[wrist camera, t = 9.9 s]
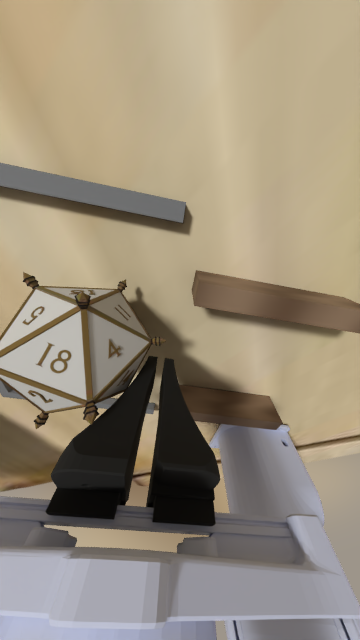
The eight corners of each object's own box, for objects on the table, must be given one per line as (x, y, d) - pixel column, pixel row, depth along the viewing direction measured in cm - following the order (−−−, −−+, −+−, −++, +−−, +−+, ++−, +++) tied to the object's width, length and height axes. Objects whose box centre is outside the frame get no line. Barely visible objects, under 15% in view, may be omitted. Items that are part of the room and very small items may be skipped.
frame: (185, 204, 10) (185, 202, 9) (154, 407, 21) (153, 414, 20) (-146, 133, 8) (-176, 125, 8) (9, 390, 19) (2, 396, 19)
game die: (150, 281, 15) (217, 351, 8) (118, 350, 17) (146, 450, 10) (20, 227, 9) (-177, 297, 2) (-1, 340, 12) (-124, 551, 5)
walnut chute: (343, 297, 12) (386, 315, 10) (263, 403, 20) (276, 430, 17) (196, 270, 12) (199, 282, 9) (169, 391, 19) (167, 417, 16)
